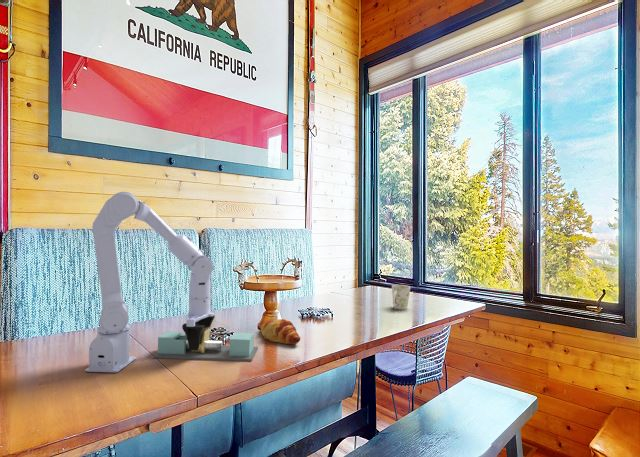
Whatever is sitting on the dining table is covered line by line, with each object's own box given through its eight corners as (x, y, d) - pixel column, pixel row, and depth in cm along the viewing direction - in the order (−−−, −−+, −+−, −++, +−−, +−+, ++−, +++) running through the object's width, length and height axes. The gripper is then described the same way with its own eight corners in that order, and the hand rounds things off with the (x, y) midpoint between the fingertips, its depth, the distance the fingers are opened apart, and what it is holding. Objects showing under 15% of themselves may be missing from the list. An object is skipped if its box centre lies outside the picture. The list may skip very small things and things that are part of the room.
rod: (162, 351, 103) (162, 330, 103) (169, 346, 107) (169, 325, 107) (219, 353, 103) (219, 332, 103) (223, 348, 107) (224, 327, 107)
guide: (153, 358, 100) (153, 339, 100) (168, 345, 110) (169, 328, 110) (251, 361, 100) (251, 342, 100) (257, 348, 110) (258, 331, 110)
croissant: (255, 342, 127) (246, 323, 125) (277, 324, 133) (268, 305, 130) (291, 359, 111) (281, 337, 108) (315, 338, 117) (305, 317, 114)
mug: (412, 307, 171) (412, 286, 171) (402, 313, 160) (403, 289, 160) (394, 305, 175) (395, 284, 175) (384, 310, 164) (385, 287, 164)
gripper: (205, 303, 98) (204, 354, 98) (221, 292, 112) (219, 337, 112) (179, 302, 98) (177, 353, 98) (197, 292, 112) (196, 336, 112)
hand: (198, 345), depth 105 cm, fingers open, 7 cm apart
